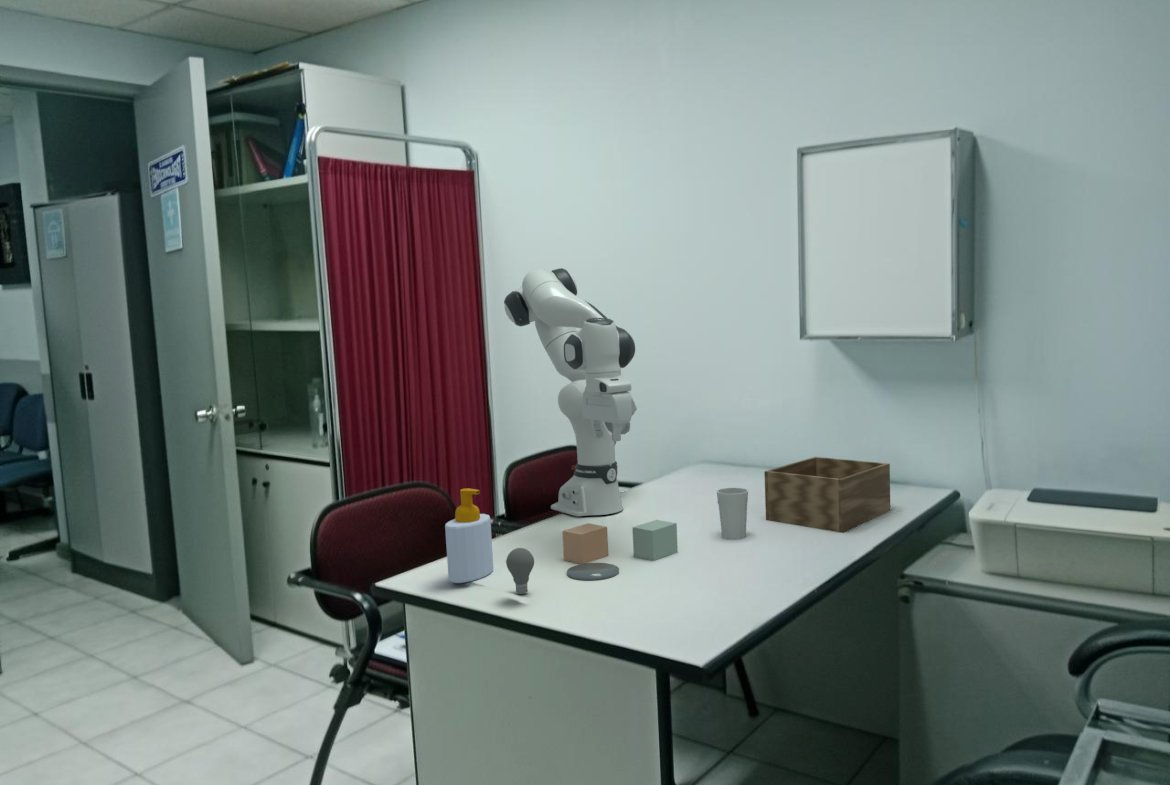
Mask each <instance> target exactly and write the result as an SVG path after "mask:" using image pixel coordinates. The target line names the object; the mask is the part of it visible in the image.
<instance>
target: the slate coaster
mask: <svg viewBox="0 0 1170 785" xmlns="http://www.w3.org/2000/svg"><path fill="white" fill-rule="evenodd" d="M619 573H620V568H619V566H617V565H616V564H613V563H607V562H588V563H585V564H579V563H578V564H576V565H572V566H570V567H569V568H568V569H567V570H566V575H567V576H568V578H570V579H573V580H576V581H577V580H578V581H585V582H586V581H587V582H588V581H590V582H591V581H592V582H593V581H601V580H608V579H611V578H613V577H614V578H615V577H616V576H617V575H618V574H619Z"/></svg>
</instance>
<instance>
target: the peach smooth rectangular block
mask: <svg viewBox="0 0 1170 785" xmlns="http://www.w3.org/2000/svg"><path fill="white" fill-rule="evenodd" d="M561 533H562V548H563V549H562V552H563V560H564V561H566V562H572V563H576V564H578V565H579V564H585V563H592V562H593V561H596V560H599V559H602V558H606V557H608V556H609V540H608V539H609V538H608V526H605V525H599V524H596V523H595V524H594V523H584V524H581V525H578V526H575V527H571V528H568V529H564V530H562V532H561Z"/></svg>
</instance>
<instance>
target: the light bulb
mask: <svg viewBox="0 0 1170 785" xmlns="http://www.w3.org/2000/svg"><path fill="white" fill-rule="evenodd" d="M505 563H506V567H507V570H508V571H509V573H510V574H511V576H512V579H513V582H514V584H515V593H516V594H519V595H525V594H526V593H527V592H529V587H528V582H529V581H530V580H529V579H530V575H531V572H532V570H533V568H534V565H535V558H534V556H533V554H532V552H531V551H530V550H528V549H527V548H523V547H516V548H514V549H512V550H511V551H510V552H509V553H508V555H507V557H506V559H505Z"/></svg>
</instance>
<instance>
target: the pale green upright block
mask: <svg viewBox="0 0 1170 785" xmlns="http://www.w3.org/2000/svg"><path fill="white" fill-rule="evenodd" d="M677 524H678V523H676V522H673V521H672V522H671V521H666V520H660V519H654V520H652V521H649V522H645V523H642V524H639V525H635V526H632V548H633V557H635V558H640V559H645V560H650V561H656V560H660V559H661V558H665V557H667V556H671V555H673V554H677V553H679V551H678V548H679V547H678V525H677Z"/></svg>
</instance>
